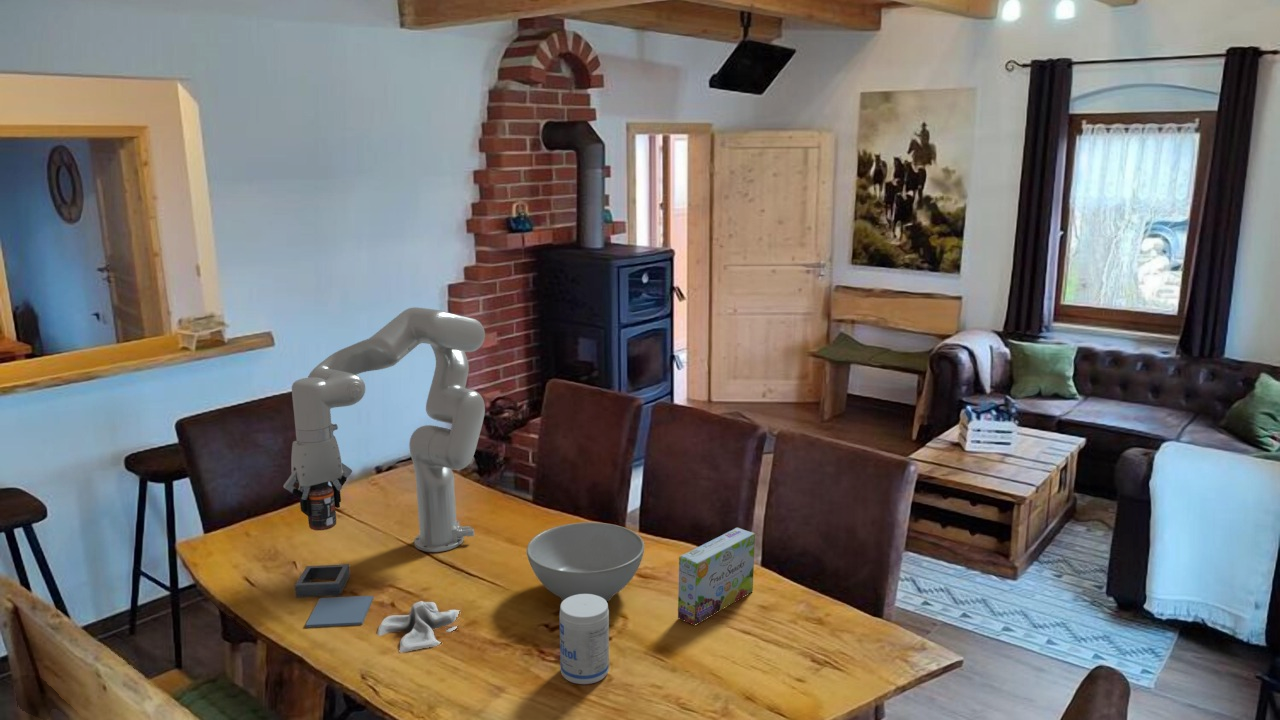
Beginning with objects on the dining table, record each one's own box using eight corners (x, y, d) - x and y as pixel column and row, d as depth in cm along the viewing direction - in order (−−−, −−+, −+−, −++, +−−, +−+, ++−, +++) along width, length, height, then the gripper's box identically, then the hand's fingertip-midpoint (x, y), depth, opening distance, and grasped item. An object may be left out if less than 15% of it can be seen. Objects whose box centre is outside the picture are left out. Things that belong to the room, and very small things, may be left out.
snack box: (696, 628, 195) (697, 563, 191) (676, 619, 198) (676, 555, 195) (754, 592, 210) (756, 531, 206) (735, 584, 213) (736, 525, 210)
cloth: (415, 663, 183) (413, 635, 182) (357, 635, 194) (355, 609, 193) (494, 617, 201) (493, 592, 200) (437, 594, 212) (435, 570, 210)
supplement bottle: (338, 528, 204) (334, 481, 202) (311, 533, 202) (306, 485, 199) (334, 519, 210) (330, 472, 207) (307, 524, 207) (302, 477, 204)
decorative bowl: (504, 596, 209) (502, 547, 206) (588, 557, 228) (587, 512, 225) (585, 637, 191) (583, 585, 188) (668, 592, 210) (668, 543, 208)
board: (373, 597, 209) (373, 595, 209) (362, 624, 197) (361, 622, 197) (320, 600, 208) (319, 598, 208) (305, 627, 196) (305, 624, 196)
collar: (350, 575, 220) (349, 564, 219) (340, 595, 210) (339, 583, 210) (307, 577, 219) (306, 566, 219) (295, 597, 210) (294, 585, 209)
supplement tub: (550, 674, 178) (548, 606, 175) (584, 653, 185) (582, 587, 182) (586, 692, 172) (584, 622, 169) (619, 670, 179) (618, 602, 176)
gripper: (343, 422, 209) (350, 495, 213) (268, 438, 198) (276, 515, 202) (358, 429, 204) (364, 504, 208) (282, 446, 192) (290, 525, 196)
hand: (321, 509), depth 205 cm, fingers closed on supplement bottle, 6 cm apart
